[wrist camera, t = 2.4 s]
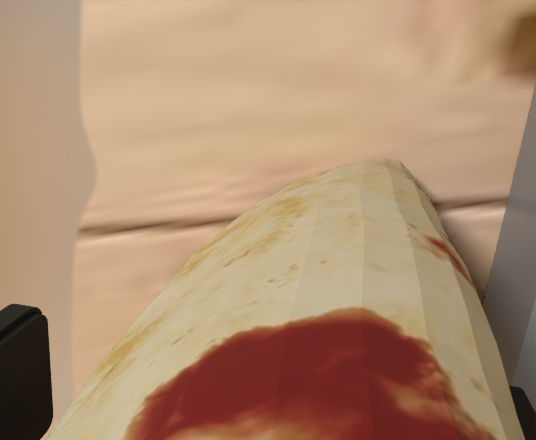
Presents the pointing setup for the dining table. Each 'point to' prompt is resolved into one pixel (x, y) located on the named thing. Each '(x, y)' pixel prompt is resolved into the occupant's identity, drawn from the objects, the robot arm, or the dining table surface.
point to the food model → (310, 329)
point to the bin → (517, 272)
